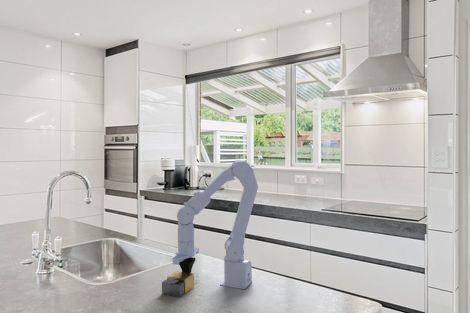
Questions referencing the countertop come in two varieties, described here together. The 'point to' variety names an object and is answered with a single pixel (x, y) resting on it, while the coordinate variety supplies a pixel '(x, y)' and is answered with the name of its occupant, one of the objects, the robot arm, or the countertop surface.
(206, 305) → the countertop surface
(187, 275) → the coupler lock
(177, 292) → the coupler
